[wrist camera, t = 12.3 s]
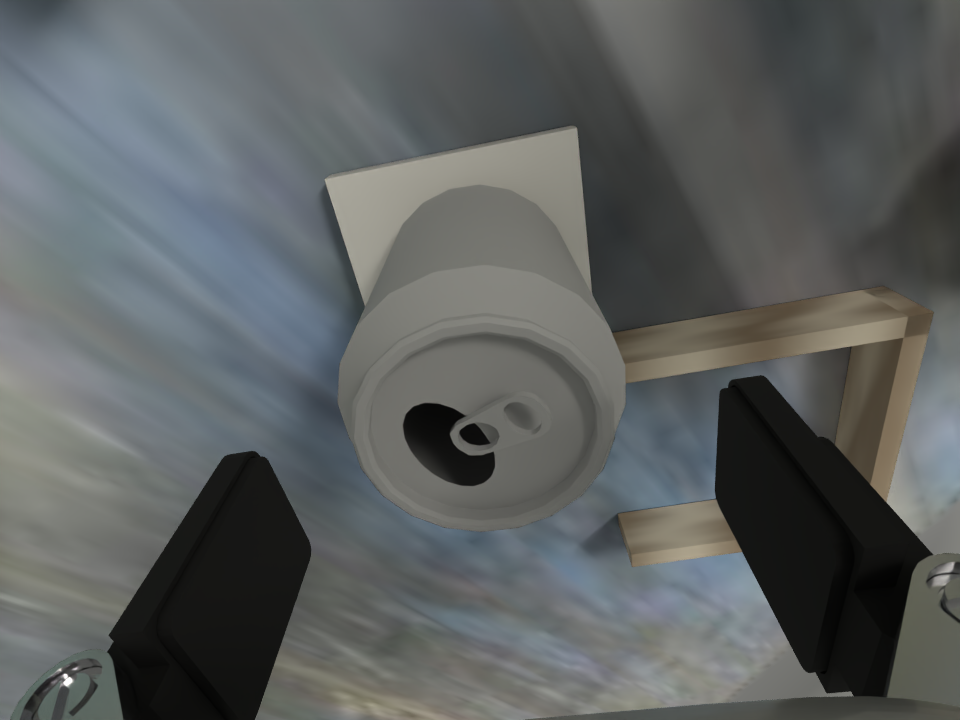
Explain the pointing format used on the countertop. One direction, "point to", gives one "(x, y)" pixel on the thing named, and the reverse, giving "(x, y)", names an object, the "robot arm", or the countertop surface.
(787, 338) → the open wooden frame
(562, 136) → the tile
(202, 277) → the countertop surface
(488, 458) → the can
